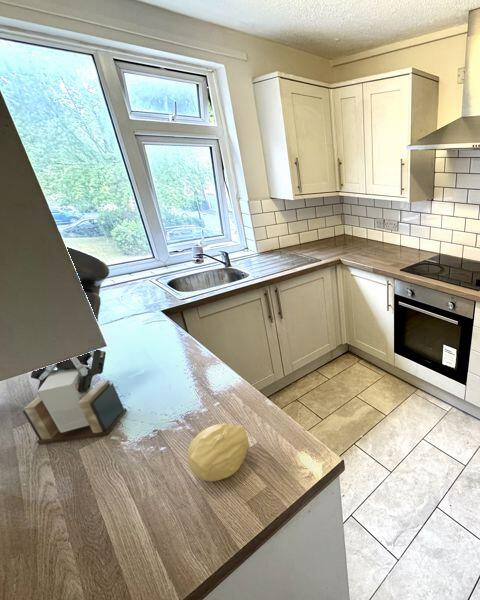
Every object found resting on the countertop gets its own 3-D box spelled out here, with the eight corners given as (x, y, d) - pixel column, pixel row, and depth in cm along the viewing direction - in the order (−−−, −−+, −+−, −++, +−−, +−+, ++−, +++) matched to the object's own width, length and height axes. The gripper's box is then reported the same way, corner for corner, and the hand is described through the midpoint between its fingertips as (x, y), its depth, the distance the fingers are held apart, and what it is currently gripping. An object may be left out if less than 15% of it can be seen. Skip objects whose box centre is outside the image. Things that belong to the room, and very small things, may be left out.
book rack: (38, 444, 81) (17, 409, 76) (64, 418, 89) (47, 385, 84) (107, 435, 83) (91, 401, 79) (127, 410, 91) (113, 378, 87)
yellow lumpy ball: (210, 501, 68) (197, 464, 63) (184, 470, 74) (171, 434, 70) (260, 463, 76) (252, 428, 72) (233, 438, 83) (224, 405, 78)
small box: (70, 412, 87) (50, 372, 82) (101, 405, 90) (83, 365, 84) (59, 433, 80) (35, 391, 75) (92, 425, 83) (72, 383, 78)
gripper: (32, 328, 81) (14, 396, 75) (98, 323, 84) (85, 389, 78) (57, 336, 88) (42, 399, 82) (117, 331, 91) (107, 392, 85)
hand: (63, 394), depth 80 cm, fingers closed on small box, 7 cm apart
